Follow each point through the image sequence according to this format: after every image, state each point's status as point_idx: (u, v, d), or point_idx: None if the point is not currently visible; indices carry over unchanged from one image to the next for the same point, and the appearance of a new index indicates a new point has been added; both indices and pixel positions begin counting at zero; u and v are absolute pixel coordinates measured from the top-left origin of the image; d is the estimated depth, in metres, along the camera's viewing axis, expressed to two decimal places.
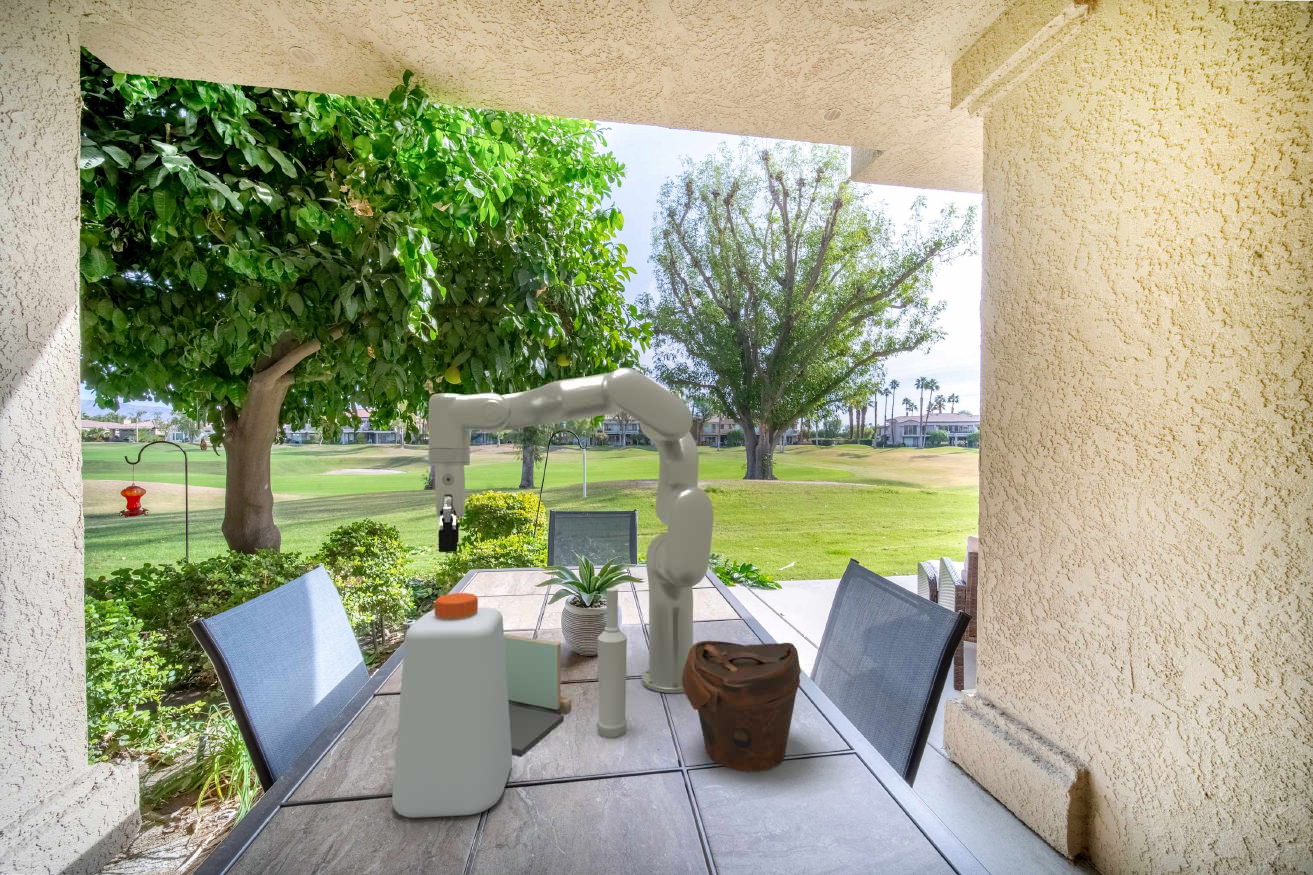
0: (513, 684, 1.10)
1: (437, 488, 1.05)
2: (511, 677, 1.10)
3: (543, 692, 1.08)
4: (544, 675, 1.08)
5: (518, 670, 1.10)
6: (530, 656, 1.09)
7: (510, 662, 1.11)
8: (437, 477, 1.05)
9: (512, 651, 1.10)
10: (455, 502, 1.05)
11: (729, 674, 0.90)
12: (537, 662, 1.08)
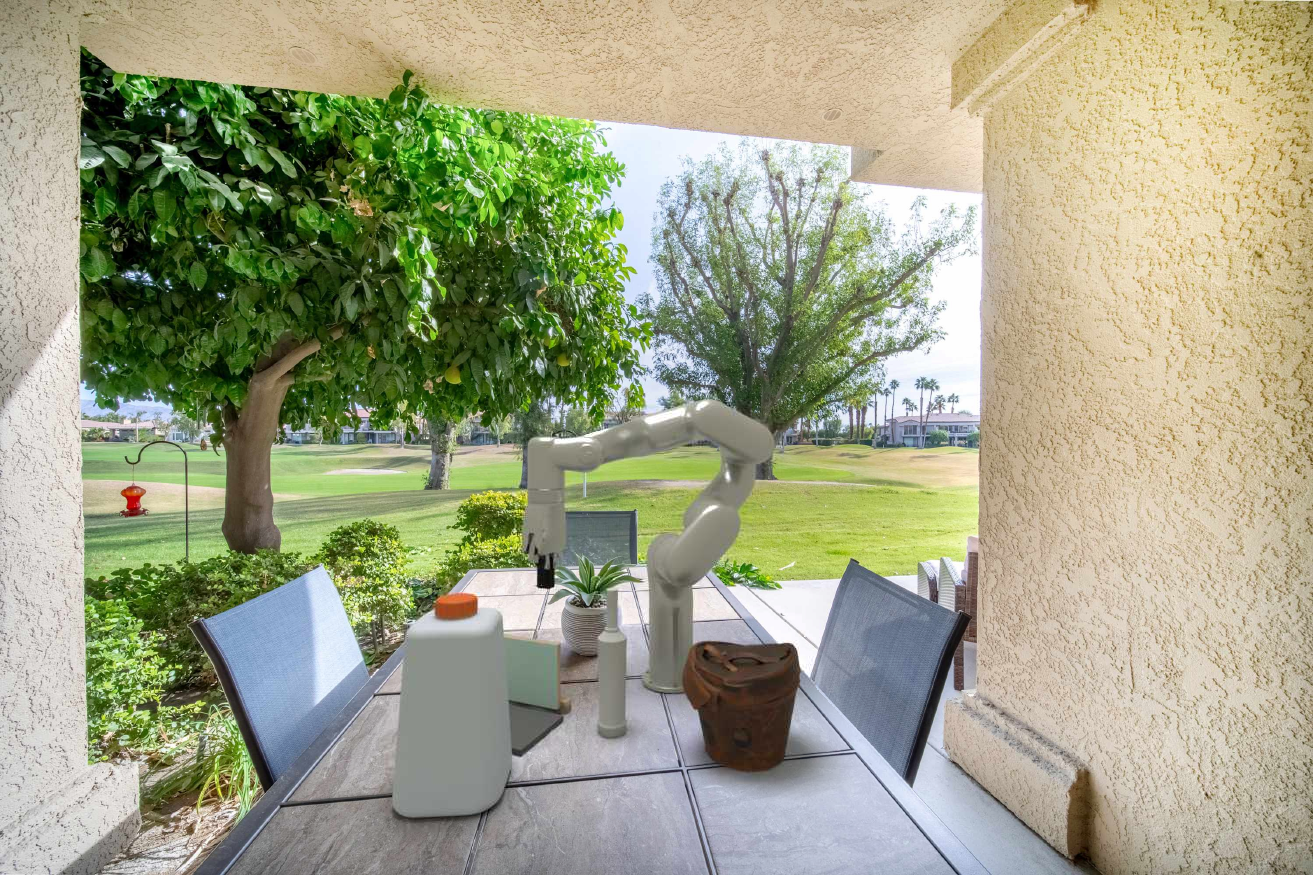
0: (513, 684, 1.10)
1: None
2: (511, 677, 1.10)
3: (543, 692, 1.08)
4: (544, 675, 1.08)
5: (518, 670, 1.10)
6: (530, 656, 1.09)
7: (510, 662, 1.11)
8: None
9: (512, 651, 1.10)
10: None
11: (729, 674, 0.90)
12: (537, 662, 1.08)
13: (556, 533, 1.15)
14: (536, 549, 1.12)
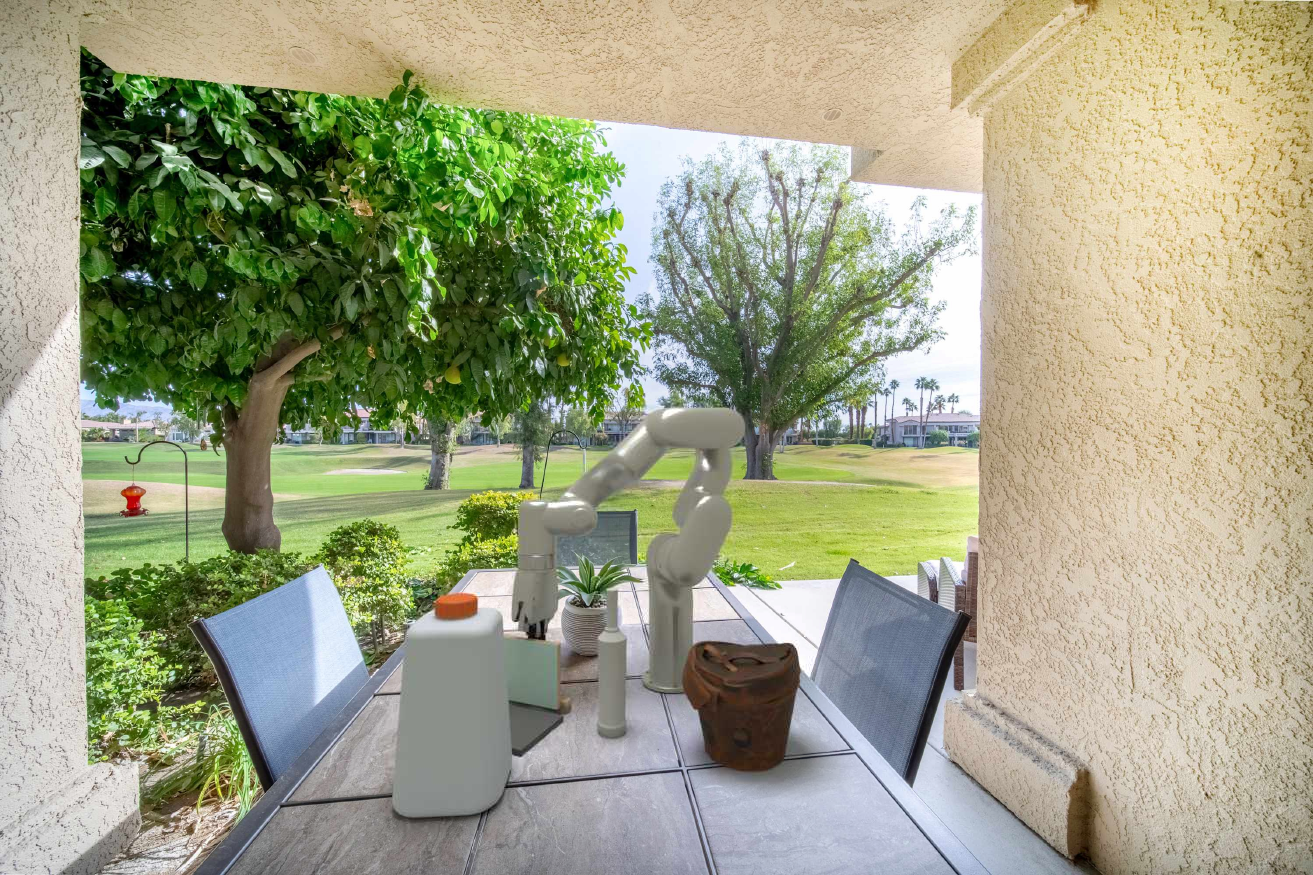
0: (513, 684, 1.10)
1: None
2: (511, 677, 1.10)
3: (543, 692, 1.08)
4: (544, 675, 1.08)
5: (518, 670, 1.10)
6: (530, 656, 1.09)
7: (510, 662, 1.11)
8: (556, 576, 1.16)
9: (512, 651, 1.10)
10: None
11: (729, 674, 0.90)
12: (537, 662, 1.08)
13: (547, 599, 1.12)
14: (526, 618, 1.09)
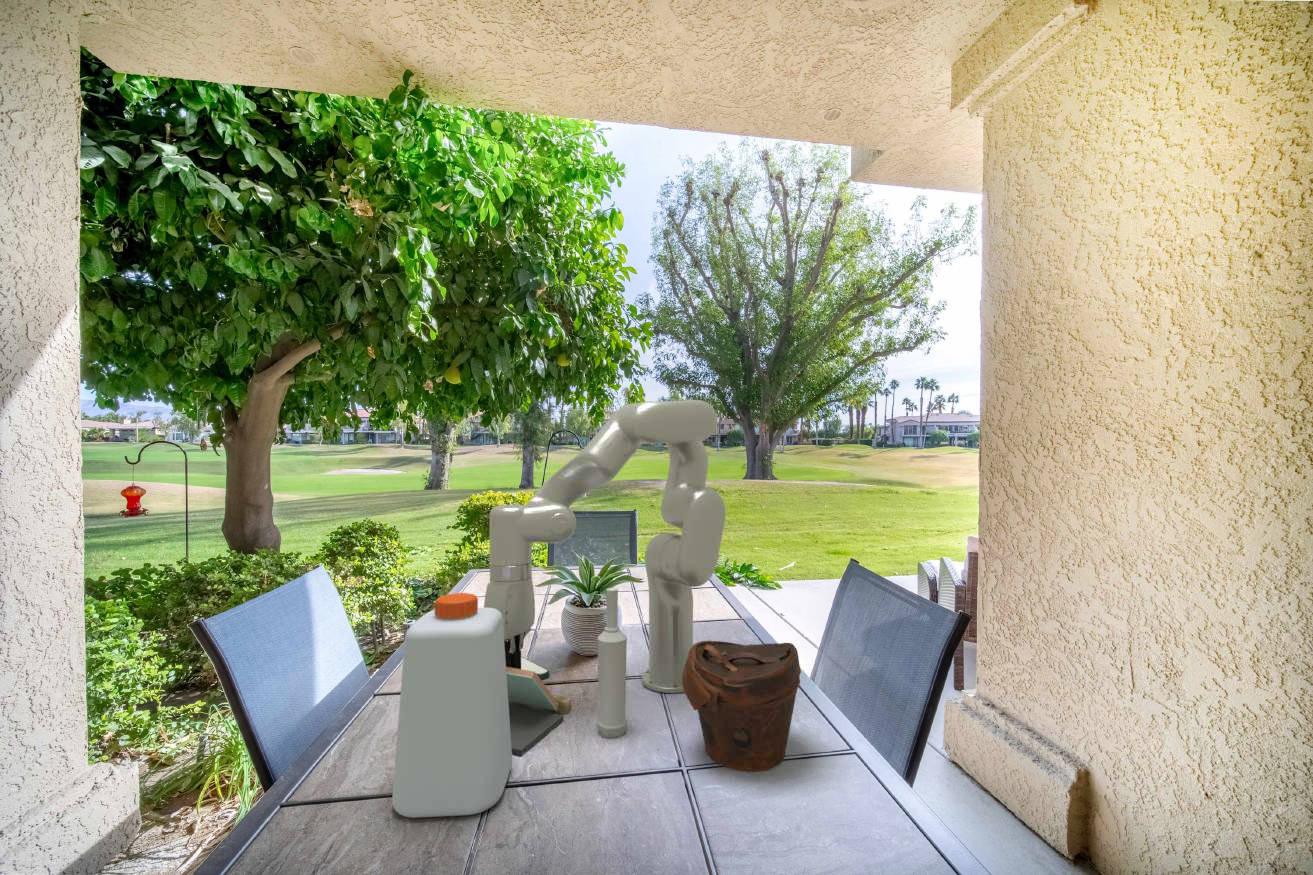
0: None
1: None
2: None
3: (537, 701, 1.06)
4: (531, 692, 1.04)
5: None
6: (510, 681, 1.03)
7: None
8: (532, 587, 1.08)
9: None
10: None
11: (729, 674, 0.90)
12: (519, 685, 1.03)
13: (522, 612, 1.04)
14: None
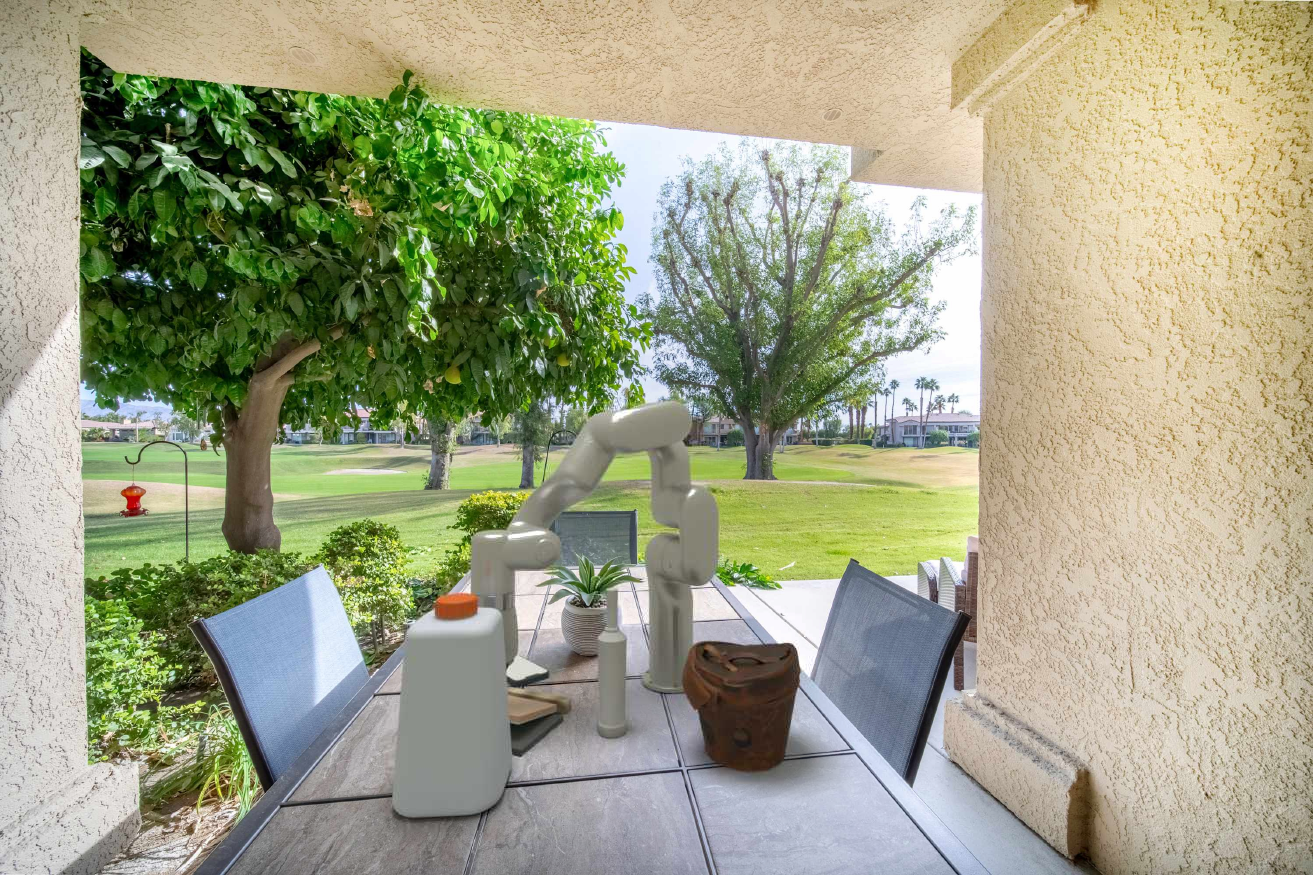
0: None
1: None
2: None
3: None
4: None
5: None
6: None
7: None
8: (516, 616, 1.04)
9: None
10: None
11: (729, 674, 0.90)
12: None
13: (504, 644, 0.99)
14: None
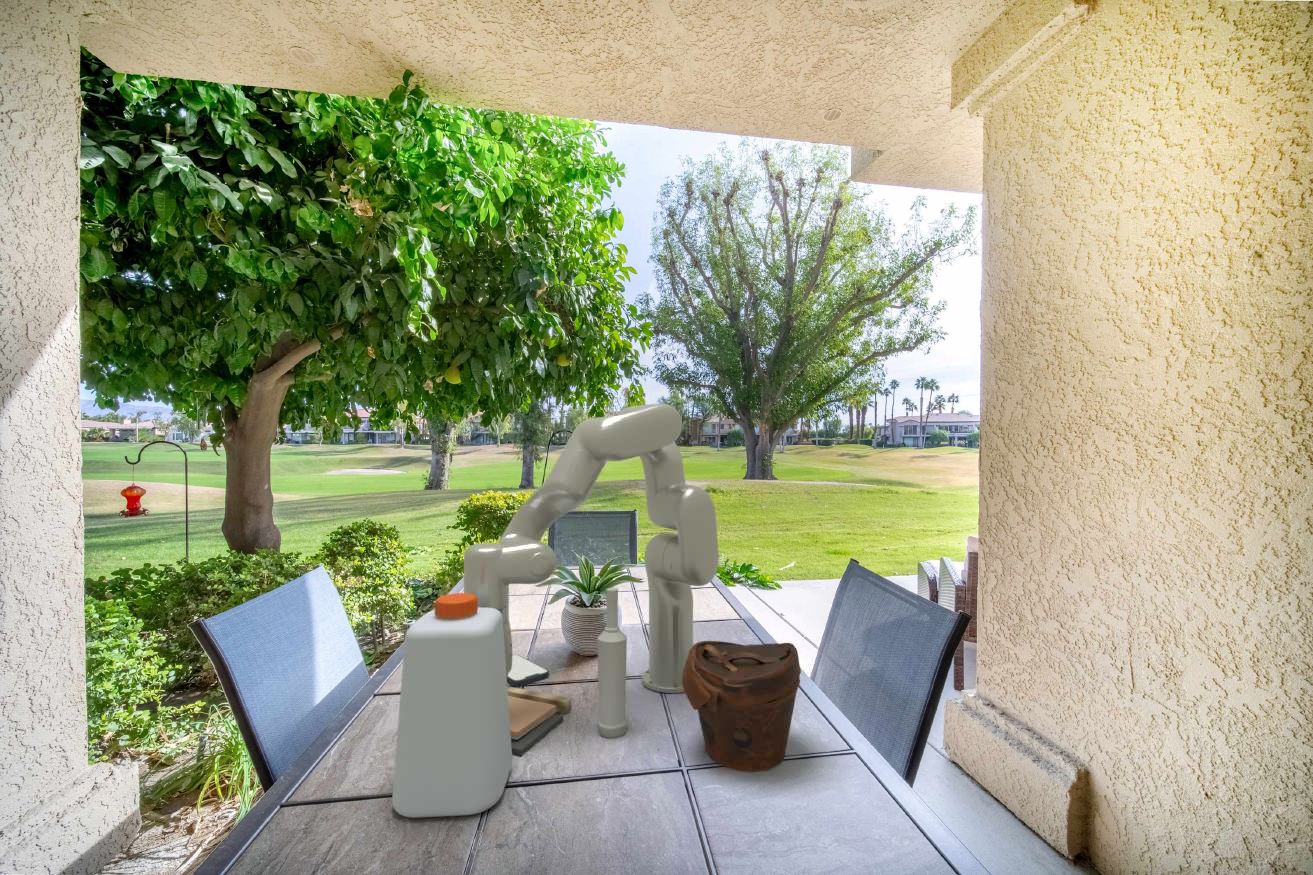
0: None
1: None
2: None
3: None
4: None
5: None
6: None
7: None
8: (510, 630, 1.02)
9: None
10: None
11: (729, 674, 0.90)
12: None
13: None
14: None
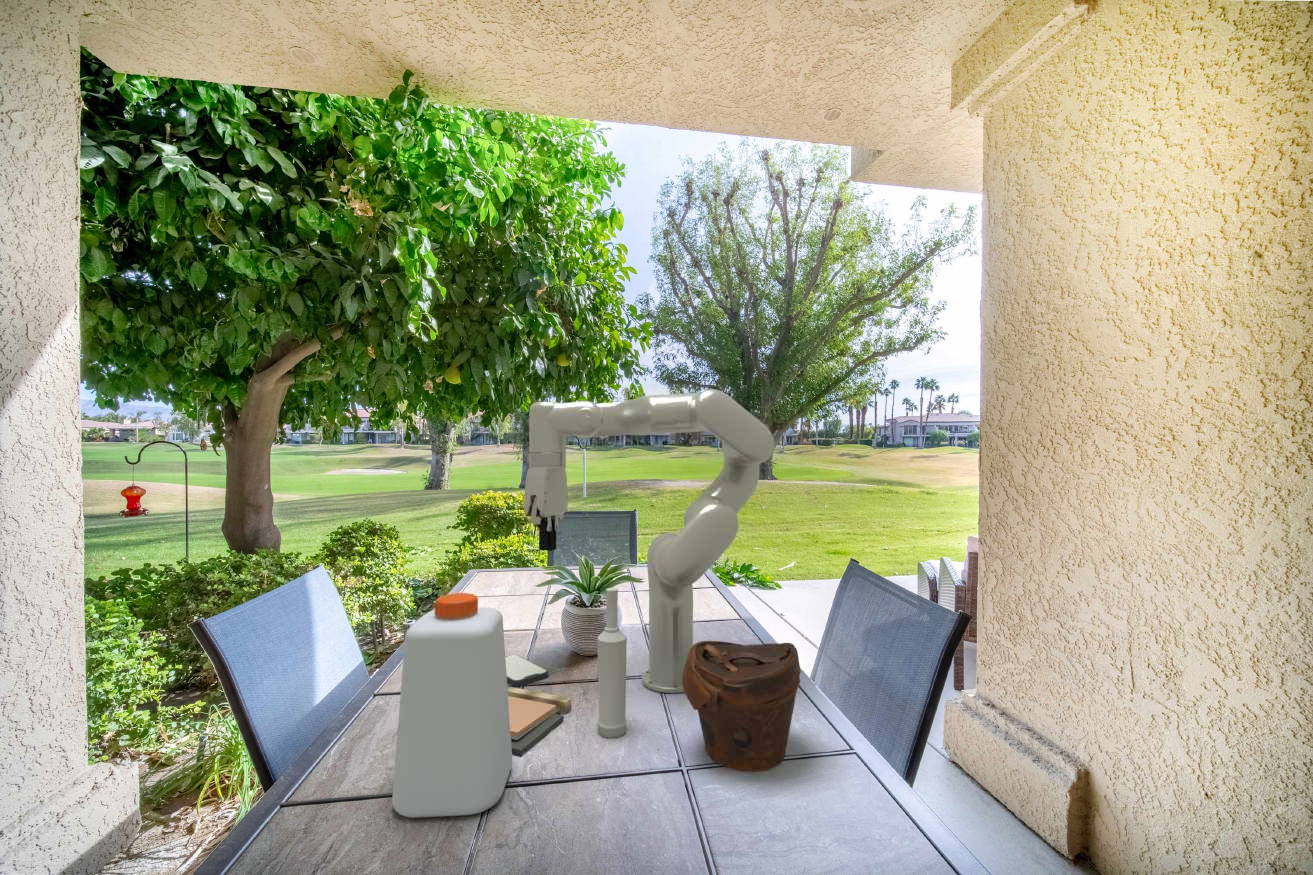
0: None
1: None
2: None
3: None
4: None
5: None
6: None
7: None
8: (566, 477, 1.22)
9: None
10: None
11: (729, 674, 0.90)
12: None
13: (557, 496, 1.18)
14: (538, 511, 1.14)
